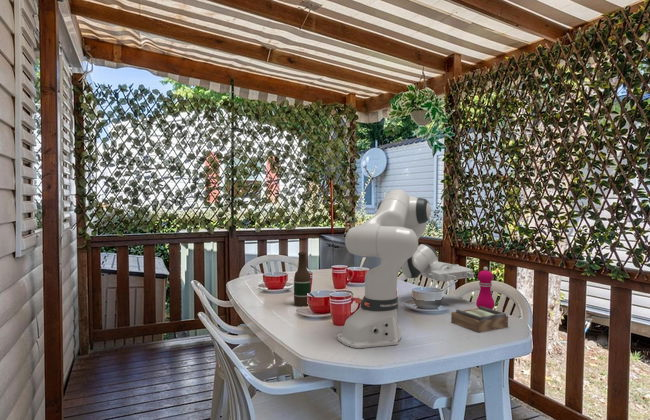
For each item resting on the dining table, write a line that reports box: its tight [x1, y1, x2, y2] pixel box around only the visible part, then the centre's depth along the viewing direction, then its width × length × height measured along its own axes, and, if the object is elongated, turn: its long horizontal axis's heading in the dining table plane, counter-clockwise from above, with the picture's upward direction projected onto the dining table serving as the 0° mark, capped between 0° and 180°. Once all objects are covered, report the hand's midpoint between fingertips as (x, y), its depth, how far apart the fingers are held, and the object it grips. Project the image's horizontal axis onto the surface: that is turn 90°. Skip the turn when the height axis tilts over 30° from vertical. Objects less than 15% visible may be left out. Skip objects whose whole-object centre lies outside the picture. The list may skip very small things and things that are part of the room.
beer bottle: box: [293, 251, 312, 308], centre depth 200 cm, size 8×8×24 cm
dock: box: [450, 306, 509, 333], centre depth 169 cm, size 15×14×5 cm
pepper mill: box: [475, 266, 495, 310], centre depth 183 cm, size 7×7×20 cm
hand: (464, 277), depth 194 cm, fingers open, 8 cm apart
